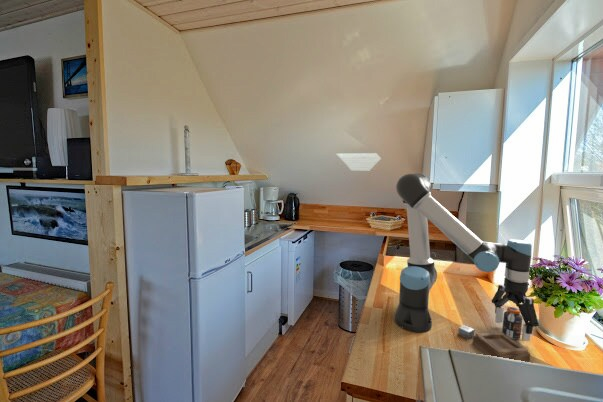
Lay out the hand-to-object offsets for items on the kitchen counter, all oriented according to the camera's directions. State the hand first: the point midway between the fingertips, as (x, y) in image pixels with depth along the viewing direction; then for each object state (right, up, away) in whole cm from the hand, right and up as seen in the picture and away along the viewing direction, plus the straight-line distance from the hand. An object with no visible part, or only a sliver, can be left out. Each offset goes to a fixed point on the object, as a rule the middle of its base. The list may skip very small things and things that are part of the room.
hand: (511, 330), depth 112 cm
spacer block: (-18, -2, 0) cm, 18 cm away
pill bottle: (0, -2, 0) cm, 2 cm away
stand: (-12, -3, -10) cm, 16 cm away
